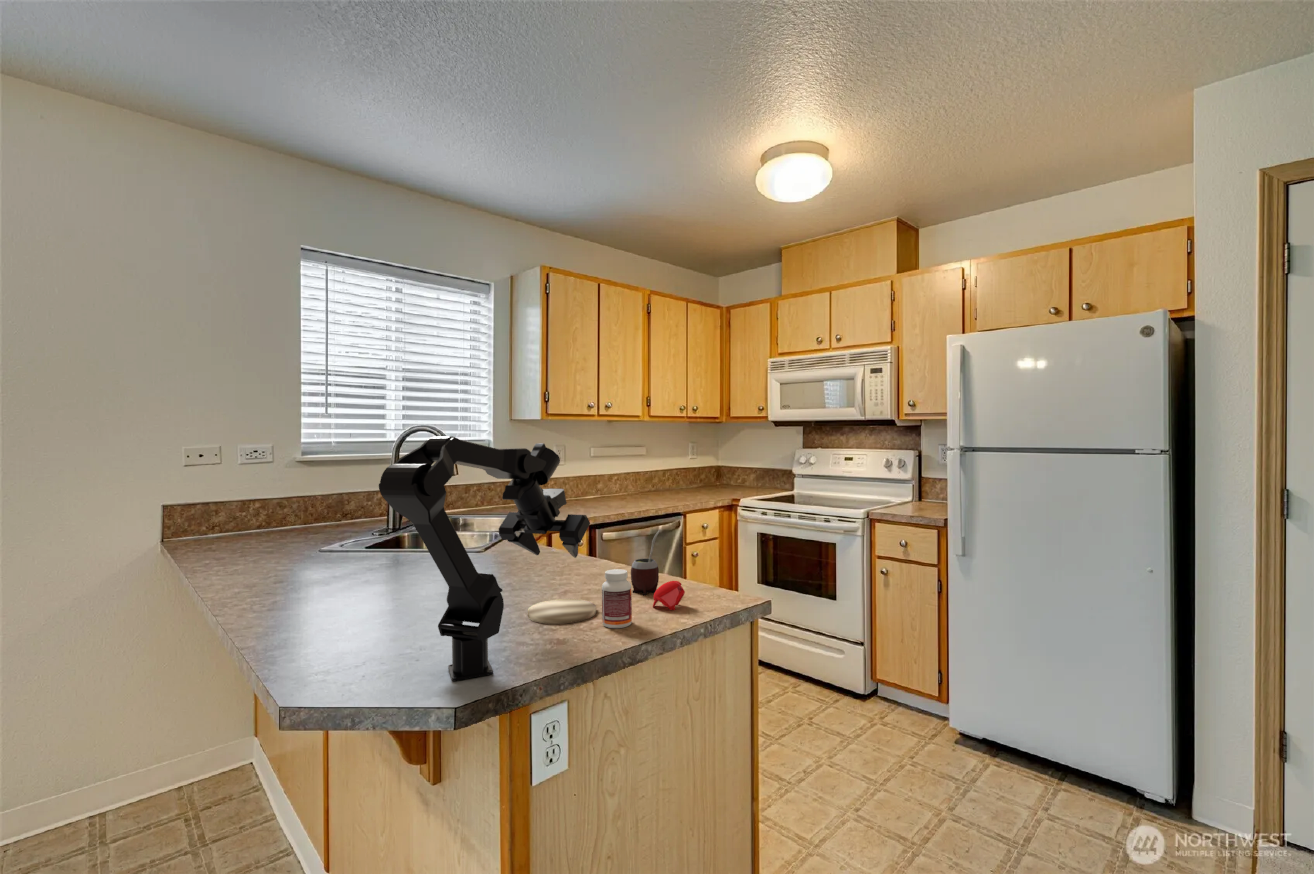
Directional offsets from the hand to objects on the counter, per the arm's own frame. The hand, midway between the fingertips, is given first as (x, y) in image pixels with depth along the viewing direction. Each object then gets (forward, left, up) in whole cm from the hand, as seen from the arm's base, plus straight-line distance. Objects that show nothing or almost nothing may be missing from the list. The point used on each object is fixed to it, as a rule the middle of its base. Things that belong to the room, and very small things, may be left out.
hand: (557, 554), depth 125 cm
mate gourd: (+14, -27, -15) cm, 33 cm away
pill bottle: (-7, -11, -15) cm, 19 cm away
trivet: (+6, -3, -14) cm, 16 cm away
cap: (-1, -26, -15) cm, 29 cm away
